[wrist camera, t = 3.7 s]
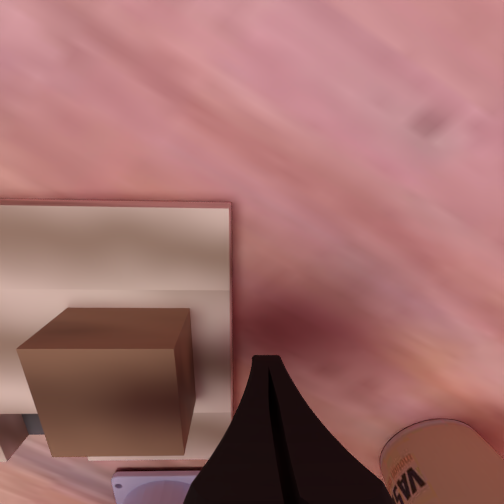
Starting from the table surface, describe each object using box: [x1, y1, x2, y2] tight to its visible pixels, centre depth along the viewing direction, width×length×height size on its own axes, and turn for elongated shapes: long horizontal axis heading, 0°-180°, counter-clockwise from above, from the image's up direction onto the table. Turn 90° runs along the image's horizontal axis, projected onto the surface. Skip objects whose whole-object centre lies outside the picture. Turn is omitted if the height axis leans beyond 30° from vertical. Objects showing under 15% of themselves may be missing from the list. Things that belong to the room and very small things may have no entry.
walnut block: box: [16, 308, 196, 457], centre depth 12 cm, size 6×6×3 cm
